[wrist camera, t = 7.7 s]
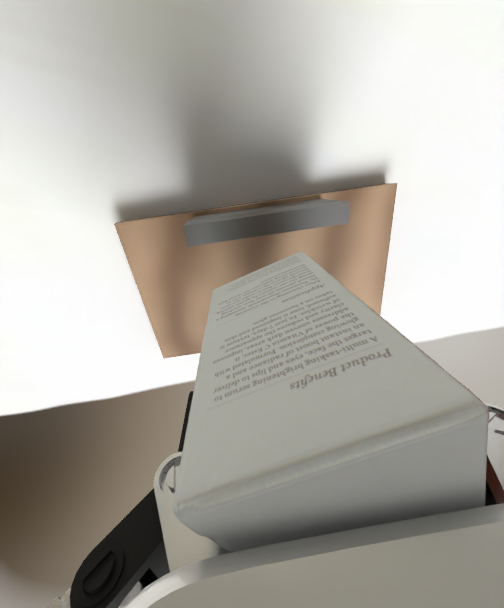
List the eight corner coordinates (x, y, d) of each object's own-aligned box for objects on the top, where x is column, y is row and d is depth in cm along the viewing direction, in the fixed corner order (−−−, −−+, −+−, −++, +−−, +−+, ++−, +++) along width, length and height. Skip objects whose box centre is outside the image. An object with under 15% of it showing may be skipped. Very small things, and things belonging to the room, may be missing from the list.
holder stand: (385, 183, 20) (450, 182, 14) (370, 317, 26) (412, 356, 20) (122, 221, 20) (76, 235, 14) (167, 349, 25) (148, 397, 19)
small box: (338, 354, 16) (490, 584, 7) (262, 383, 17) (306, 633, 7) (303, 245, 13) (512, 408, 3) (209, 287, 13) (162, 525, 4)
